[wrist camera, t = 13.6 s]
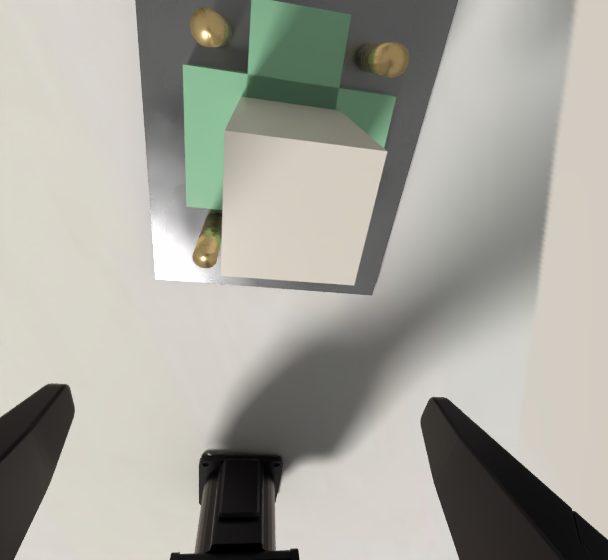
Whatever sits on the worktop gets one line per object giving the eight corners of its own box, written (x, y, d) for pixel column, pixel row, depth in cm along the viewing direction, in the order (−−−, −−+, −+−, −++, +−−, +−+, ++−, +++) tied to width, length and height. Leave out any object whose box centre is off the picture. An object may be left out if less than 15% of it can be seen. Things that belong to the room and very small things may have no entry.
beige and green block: (351, 257, 20) (395, 364, 13) (191, 244, 19) (149, 354, 12) (405, 27, 15) (523, 10, 8) (185, -13, 13) (105, -72, 7)
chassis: (369, 289, 22) (389, 334, 19) (158, 273, 20) (136, 319, 17) (461, -35, 14) (524, -61, 11) (132, -108, 13) (82, -167, 9)
